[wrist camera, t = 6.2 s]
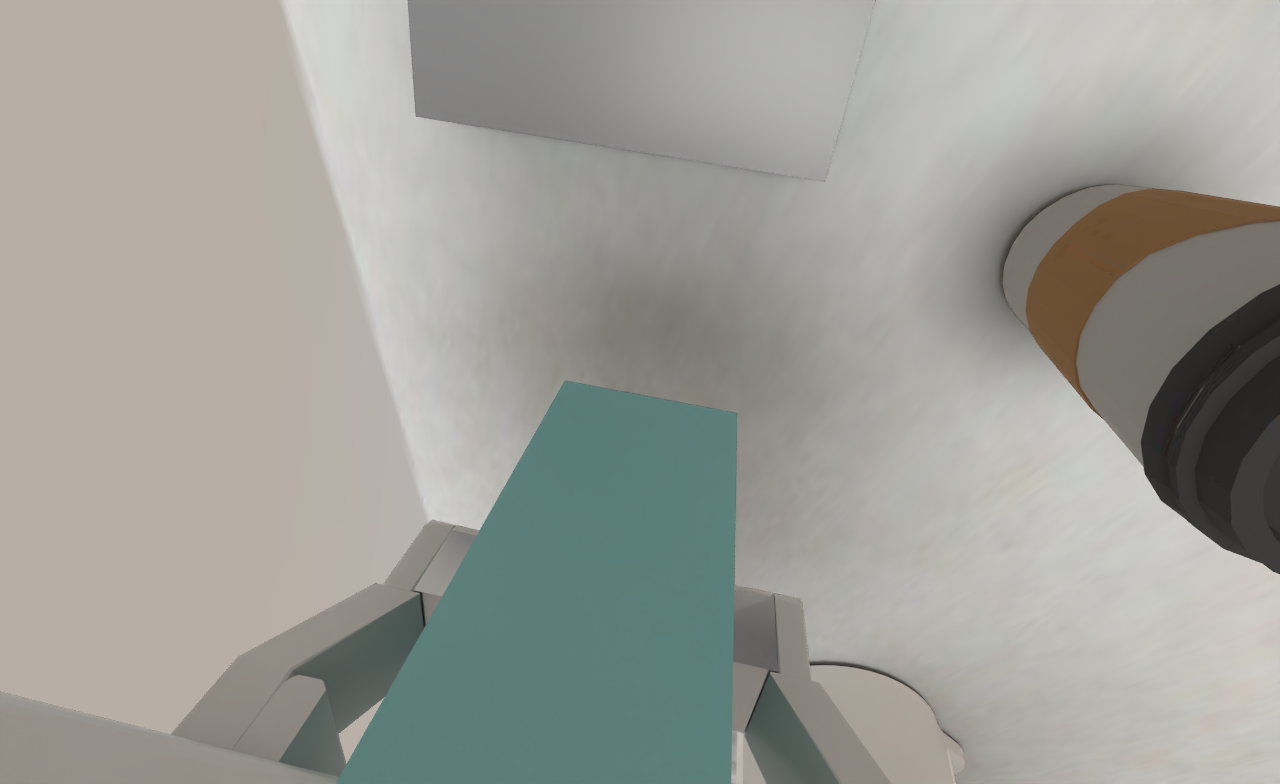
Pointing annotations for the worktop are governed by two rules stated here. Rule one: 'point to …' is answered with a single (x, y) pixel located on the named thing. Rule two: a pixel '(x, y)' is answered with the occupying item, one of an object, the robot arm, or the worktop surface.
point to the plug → (582, 614)
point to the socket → (648, 74)
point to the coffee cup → (1169, 342)
